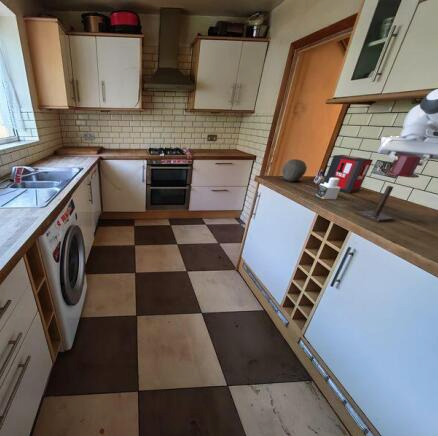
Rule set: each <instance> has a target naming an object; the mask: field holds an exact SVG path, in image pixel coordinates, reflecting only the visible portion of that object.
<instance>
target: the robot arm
mask: <svg viewBox="0 0 438 436" xmlns="http://www.w3.org/2000/svg"><path fill="white" fill-rule="evenodd" d="M379 143H380V145H379V147H378V148H377V151H376V153H378V155H387V156H388V157H389V159H390V160H391V161H390V162H391V163H393V164H394V163H396V162H397V160H398V156H399V155H400V154H406V155H415V156H420V157H421V160H420V162H419V163H418V165H417V166H418V167H419V166H420V167H422V166H423V165H424V164H425V162H426V161H428V160H438V87H437V88H435V89H433V90H431V91H430V92H428V93H427V94H426V95H425V96H424V97H423V98H422V100H421V102H420V103H419V104H418V105H415V106H414V107H412V108H411V109H410V110H409V111H408V112H407V114H406V115H405V118H404V120H403V124H402V129H401V131H400V133H399V135H384V136H381V138H380V139H379Z"/></svg>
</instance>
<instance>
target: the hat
mask: <svg viewBox="0 0 438 436" xmlns="http://www.w3.org/2000/svg"><path fill="white" fill-rule="evenodd" d="M397 157H398V160H397V162H396V163H393V166H392V168H391V169H386V170H385V169H384V170H383V172H384V174H386V175H392V176H396V177H402V178H413V179H415V178H420V175H418V174H416V173H414V172H415V171H416V169H417V167H418V166H419V165H418V163H419V162H420V160H422V158H421V157H420V156H415V155H406V154H400V155H399V156H397Z"/></svg>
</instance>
